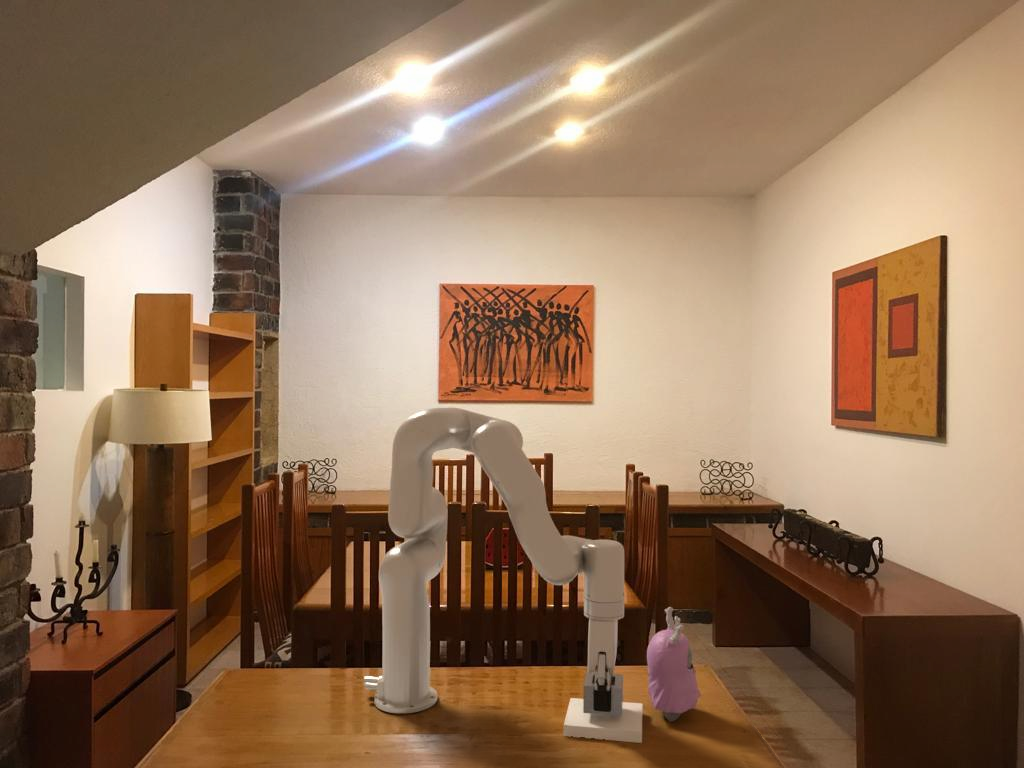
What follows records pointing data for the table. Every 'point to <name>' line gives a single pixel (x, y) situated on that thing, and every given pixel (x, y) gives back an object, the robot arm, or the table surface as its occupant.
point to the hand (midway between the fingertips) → (603, 701)
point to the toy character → (671, 671)
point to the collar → (615, 694)
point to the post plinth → (604, 723)
